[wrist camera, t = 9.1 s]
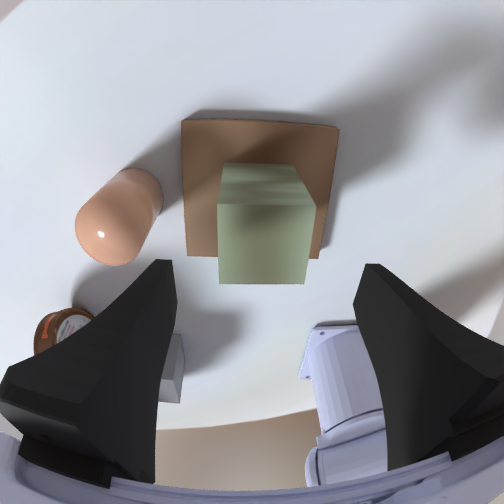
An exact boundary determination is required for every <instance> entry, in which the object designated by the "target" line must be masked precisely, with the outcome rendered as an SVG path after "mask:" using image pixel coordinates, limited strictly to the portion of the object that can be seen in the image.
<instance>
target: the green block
mask: <svg viewBox="0 0 504 504" xmlns="http://www.w3.org/2000/svg"><path fill="white" fill-rule="evenodd" d="M315 213H316V205H315V203H314V201H313V199H312V198H311V196H310V194H309V192H308V190H307V189H306V187H305V185H304V183H303V181H302V180H301V178H300V176H299V174H298V173H297V171H296V169H295V167H294V166H293V165H286V164H261V163H224V167H223V172H222V178H221V184H220V190H219V195H218V201H217V229H218V265H219V284H304V282H305V276H306V271H307V265H308V259H309V253H310V246H311V240H312V234H313V227H314V220H315Z"/></svg>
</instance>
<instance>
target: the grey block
mask: <svg viewBox="0 0 504 504" xmlns="http://www.w3.org/2000/svg"><path fill="white" fill-rule="evenodd" d="M184 366H185V357H184V351H183V346H182V340H181V335H178V334H172V337H171V341H170V345H169V349H168V353H167V357H166V361H165V365H164V369H163V373H162V377H161V383H160V390H159V398H158V401H159V402H168V403H179V404H180V397H181V389H182V381H183V373H184Z"/></svg>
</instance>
